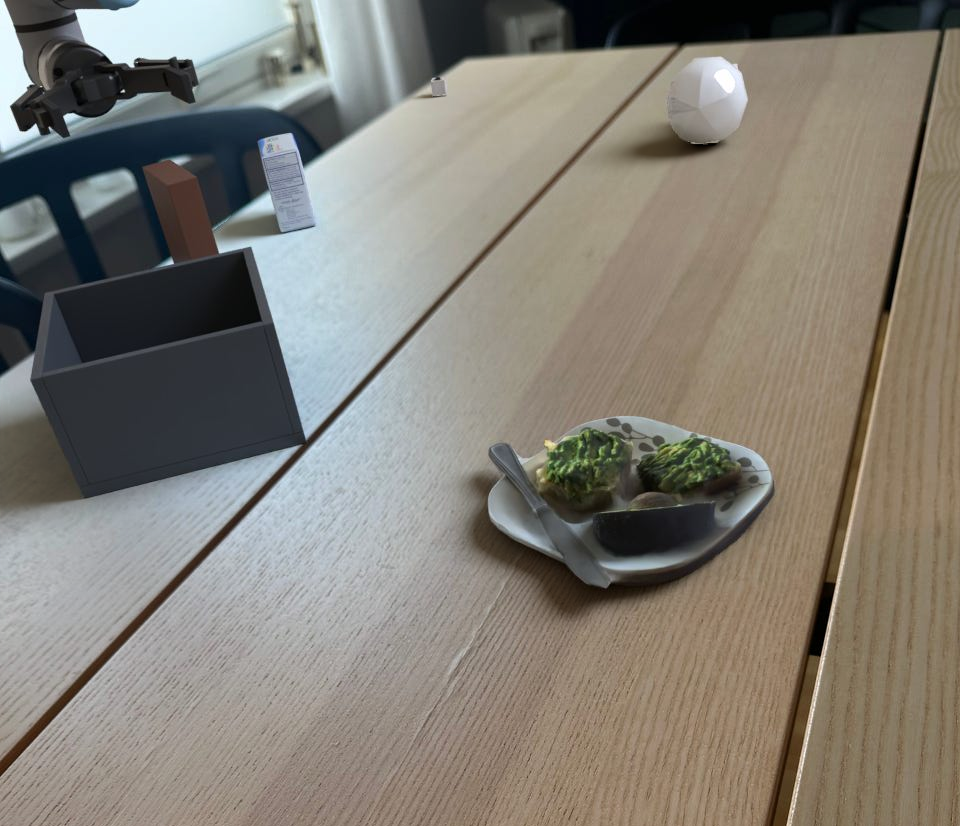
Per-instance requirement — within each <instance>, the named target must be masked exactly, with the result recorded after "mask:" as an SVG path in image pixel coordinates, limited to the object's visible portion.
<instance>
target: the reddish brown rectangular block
mask: <svg viewBox="0 0 960 826" xmlns="http://www.w3.org/2000/svg"><path fill="white" fill-rule="evenodd" d="M141 169H142V171H143V174H144V177H145V181H146V184H147V187H148V190H149V193H150V196H151V198H152V202H153V205H154V207H155V211H156V213H157V217H158V221H159V223H160V226H161V229H162V233H163V234H164V238H165V241H166V244H167V248H168V250H169V253H170V256H171V260H172V262H173V263H172V264H175V263H180V262H184V261H189V260H193V259H197V258H202V257H206V256H211V255H215V254H220V251H219V247H218V245H217V241H216V237H215V234H214V231H213V228H212V227H213V226H212V225H211V220H210V217H209V214H208V211H207V208H206V204H205V201H204V198H203V194H202V191H201V187H200V184H199V180H198V177H197V176H196V175H195V174H193V173H192V172H190V171H188V170H187V169H185V168H184V167H182V166H181V165H179V164H177V163H176V162H175V161H173V160H171V159H165V160H162V161H159V162H155V163H151V164H148V165H145V166H142V168H141Z"/></svg>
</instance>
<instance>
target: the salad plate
mask: <svg viewBox="0 0 960 826" xmlns="http://www.w3.org/2000/svg"><path fill="white" fill-rule="evenodd" d="M542 444H543V446H544V447H545V448H544V449H543V450H541V451H540V452H538V453H536V454H535V455H534V456H532V457H528V458H527V457H525V458H524V457H521V456H520V455H518V454H517V452H516V451H515V449H514V448H513V447H512V446H511V444H510V443H508V442H498V443H495V444H493V445H491V446H490V447H488V454H487V455H488V457H489V459H490V461H491V463H493V465H494V466H495V468H496V470H497V471H498V473H499V477H500V478H499V480H497V482H496V483H495V484H494V486H493V487H492V488H491V490H490V491H489V494H488V498H487V508H488V517H489V520H490V522H491V523H492V524H493V525H494V526H495V527H496V528H497V529H498V530H499V531H501V532H502V533H503V534H505V535H506V536H508V537H509V538H511V539H512V540H514V541H515V542H518V543H520V544H522V545H524V546H526V547H528V548H530V549H533V550H535V551H537V552H539V553H542V554H544V555H546V556H547V557H550V558H552V559H553V560H556V561H559V562H560V563H563V564H564V565H566V567H567V568H568V569H569V571H570V572H572V574H574V575H575V576H576V577H577V578H578V579H580V580H581V581H582V582H583V583H584V584H586V585H589V586H593V587H598V588H601V589H607V588H608V587H609V585H610V584H613V585H617V586H626V587H627V586H628V587H640V586H642V587H643V586H650V585H657V584H663V583H668V582H671V581H675V580H677V579H680V578H683V577H686V576H687V575H690V574H692V573H693V572H695V571H697V570H698V569H700V568H701V567H703V566H704V565H705V564H706V563H708V562H709V561H711V560H712V559H714V558H715V557H716V556H718V555H719V554H721V553H722V552H723V551H725V550H726V549H727V548H728V547H730V546H731V545H732V544H734V543H735V542H736V541H738V540H739V539H740V538H741V537H742V535H744V533H746V532H747V530H748V529H749V528H750V527H751V525H753V523H754V522H755V521H756V520H757V518H758V517H759V516H760V515H761V514H762V512H763V511H764V509H765V508H766V507H767V506H768V505H769V503H770V501H771V500H772V498H773V497H774V495H775V491H776V490H775V489H776V488H775V480H774V478H773V472H772V471H771V469H770V467H769V465H768V464H767V462H766V461H765V460H764V458H763V456H761V455H759V454H758V453H757V452H756V451H755V450H752V449H750V448H748V447H745V446H742V445H739V444H736V443H734V442H730V441H729V442H728V441H725V440H722V439H718V438H714V437H711V436H707V435H702V434H700V433H697V432H694V431H689V430H686V429H683V428H681V427H678V426H677V425H673V424H668V423H666V422H662V421H659V420H654V419H652V418H648V417H644V416H643V417H642V416H632V415H622V416H621V415H619V416H612V417H606V418H601V419H595V420H592V421H591V420H590V421H588V422H583V423H581V424H579V425H578V426H575V427H573V428H572V429H570V430H569V431H567V432H566V433H564V434H563V435H561V436H560V437H559V438H558V439H556V440H555V441H553V442H552V440H551V439H550V438H546V439H545V440H544V441H543V442H542Z"/></svg>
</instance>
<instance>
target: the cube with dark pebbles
mask: <svg viewBox="0 0 960 826" xmlns="http://www.w3.org/2000/svg"><path fill="white" fill-rule="evenodd" d="M430 87H431V94H432V97H433V96H437V95H443V94H446V92H447V93H448V85H447V79H446V76H437V77H432V78H431V80H430Z"/></svg>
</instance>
